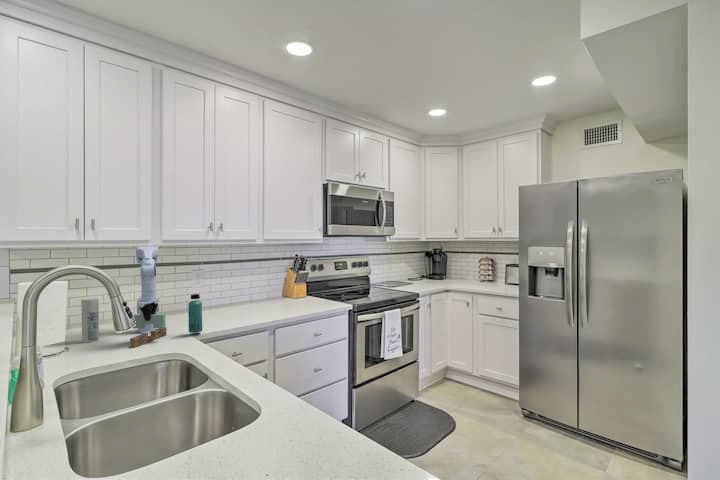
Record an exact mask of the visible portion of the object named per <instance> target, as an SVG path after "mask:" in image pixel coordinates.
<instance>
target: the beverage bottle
mask: <svg viewBox="0 0 720 480" xmlns="http://www.w3.org/2000/svg"><path fill="white" fill-rule="evenodd" d="M200 297H201V296H200V294H199V293H194V294H191V295H190V300H191V301H190V302H188V303H187V304H188V308H187V309H188V315H187V316H188V332H189V333H190V334H196V333H200V332H202V331H203V302H202V301H200V300H198V299H201V298H200Z"/></svg>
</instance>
